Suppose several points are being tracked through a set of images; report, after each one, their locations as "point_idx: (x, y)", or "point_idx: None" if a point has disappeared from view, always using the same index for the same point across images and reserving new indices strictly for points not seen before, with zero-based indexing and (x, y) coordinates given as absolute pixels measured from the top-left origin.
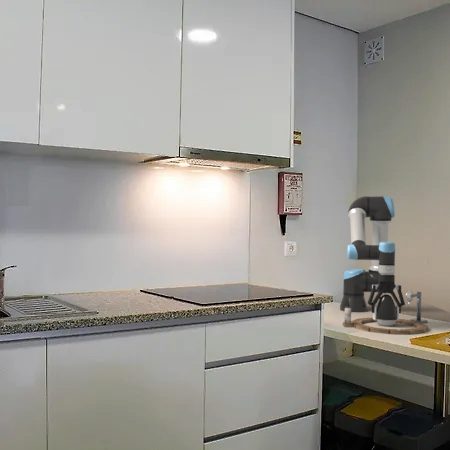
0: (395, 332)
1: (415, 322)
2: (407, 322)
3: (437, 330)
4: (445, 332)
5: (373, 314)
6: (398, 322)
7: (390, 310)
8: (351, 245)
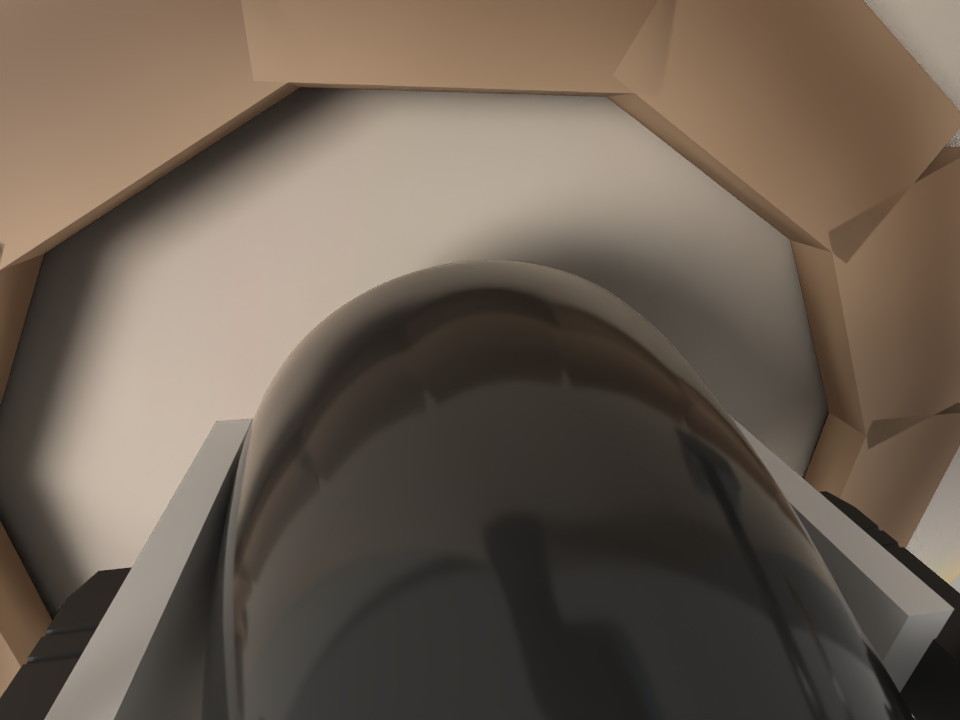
0: None
1: (913, 400)
2: (836, 339)
3: (920, 556)
4: None
5: (181, 508)
6: (753, 207)
7: None
8: None
